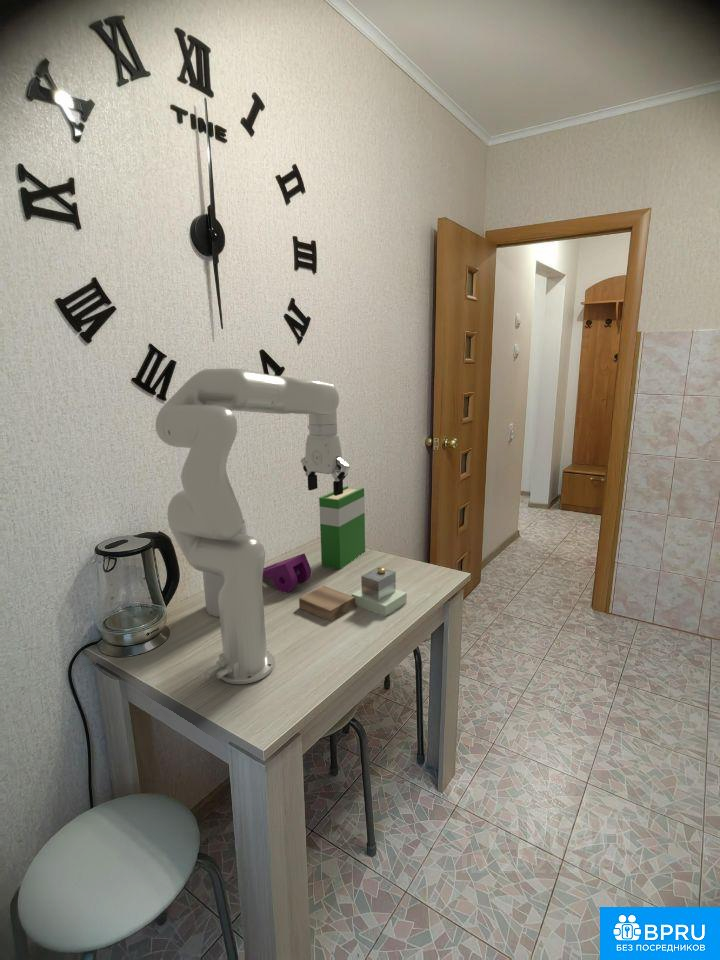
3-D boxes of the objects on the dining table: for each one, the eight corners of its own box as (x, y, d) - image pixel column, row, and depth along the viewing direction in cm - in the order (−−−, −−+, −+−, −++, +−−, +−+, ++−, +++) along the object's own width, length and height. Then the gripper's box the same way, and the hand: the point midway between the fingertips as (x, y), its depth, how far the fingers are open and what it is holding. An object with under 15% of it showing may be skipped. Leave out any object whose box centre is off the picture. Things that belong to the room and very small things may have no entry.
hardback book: (347, 548, 182) (346, 486, 177) (365, 551, 179) (364, 488, 173) (321, 565, 167) (319, 497, 162) (340, 569, 164) (338, 500, 158)
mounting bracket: (256, 601, 155) (296, 589, 145) (246, 576, 155) (285, 563, 145) (276, 589, 163) (315, 578, 153) (266, 566, 163) (304, 553, 153)
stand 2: (385, 616, 133) (385, 606, 132) (351, 603, 140) (351, 593, 139) (406, 602, 140) (406, 592, 139) (373, 591, 148) (373, 581, 147)
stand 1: (330, 621, 131) (330, 610, 130) (299, 607, 138) (299, 598, 137) (354, 606, 138) (354, 597, 137) (324, 595, 146) (323, 585, 145)
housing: (378, 601, 135) (378, 578, 133) (361, 595, 138) (361, 572, 137) (395, 591, 141) (395, 568, 139) (378, 585, 144) (378, 563, 143)
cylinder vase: (236, 593, 148) (230, 514, 142) (260, 606, 139) (254, 522, 134) (198, 608, 139) (189, 524, 133) (221, 623, 131) (213, 534, 125)
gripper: (290, 429, 134) (293, 490, 138) (337, 434, 124) (339, 499, 127) (310, 426, 140) (312, 485, 144) (356, 431, 129) (358, 493, 133)
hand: (325, 491), depth 136 cm, fingers open, 9 cm apart
